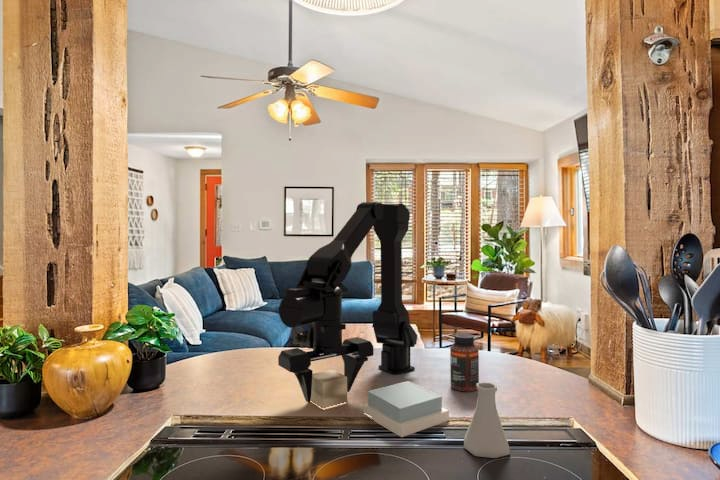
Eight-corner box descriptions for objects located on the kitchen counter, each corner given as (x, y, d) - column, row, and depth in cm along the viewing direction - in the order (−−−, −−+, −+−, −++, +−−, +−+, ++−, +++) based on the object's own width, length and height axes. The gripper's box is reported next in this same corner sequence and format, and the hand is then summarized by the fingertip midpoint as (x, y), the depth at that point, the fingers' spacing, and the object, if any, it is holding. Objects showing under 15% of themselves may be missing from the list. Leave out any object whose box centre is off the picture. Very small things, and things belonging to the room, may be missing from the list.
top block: (407, 393, 90) (407, 380, 90) (441, 410, 82) (441, 396, 82) (368, 404, 85) (367, 391, 85) (399, 423, 77) (400, 408, 77)
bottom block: (408, 404, 91) (408, 391, 91) (448, 424, 82) (448, 410, 82) (363, 417, 85) (363, 404, 85) (401, 441, 76) (401, 426, 76)
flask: (456, 438, 75) (457, 378, 75) (499, 436, 76) (500, 376, 75) (471, 461, 68) (471, 394, 68) (518, 458, 69) (518, 393, 68)
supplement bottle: (481, 385, 100) (481, 333, 99) (475, 394, 94) (476, 340, 94) (453, 381, 102) (454, 330, 102) (447, 390, 97) (447, 337, 96)
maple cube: (332, 395, 94) (332, 369, 94) (347, 404, 90) (347, 376, 89) (309, 402, 91) (308, 374, 91) (323, 411, 86) (322, 382, 86)
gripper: (344, 306, 102) (345, 376, 102) (266, 316, 91) (267, 394, 92) (374, 314, 92) (375, 390, 93) (291, 327, 82) (292, 413, 82)
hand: (328, 396), depth 90 cm, fingers open, 9 cm apart
